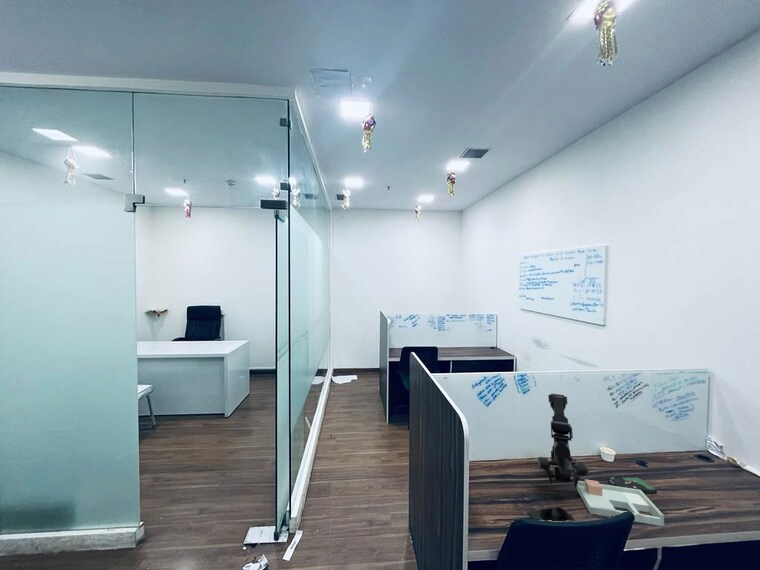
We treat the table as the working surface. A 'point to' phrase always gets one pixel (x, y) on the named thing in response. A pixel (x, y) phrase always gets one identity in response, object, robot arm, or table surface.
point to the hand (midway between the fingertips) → (562, 485)
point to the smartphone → (550, 514)
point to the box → (621, 503)
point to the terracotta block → (593, 487)
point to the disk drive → (632, 484)
